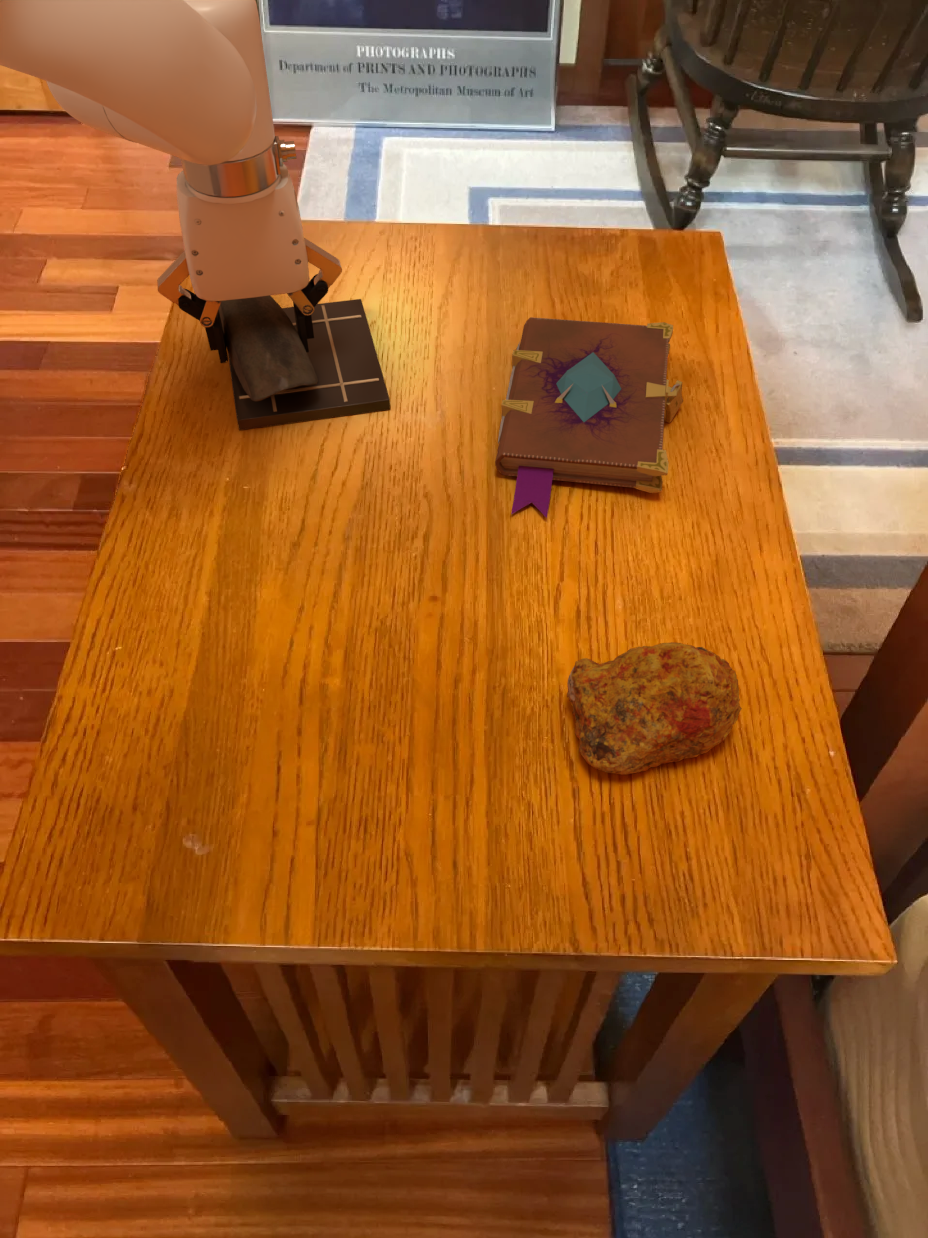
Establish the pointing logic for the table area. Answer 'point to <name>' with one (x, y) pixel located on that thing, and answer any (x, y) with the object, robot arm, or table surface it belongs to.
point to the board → (324, 373)
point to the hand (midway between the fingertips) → (263, 347)
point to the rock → (652, 706)
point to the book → (586, 407)
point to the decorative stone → (264, 347)
